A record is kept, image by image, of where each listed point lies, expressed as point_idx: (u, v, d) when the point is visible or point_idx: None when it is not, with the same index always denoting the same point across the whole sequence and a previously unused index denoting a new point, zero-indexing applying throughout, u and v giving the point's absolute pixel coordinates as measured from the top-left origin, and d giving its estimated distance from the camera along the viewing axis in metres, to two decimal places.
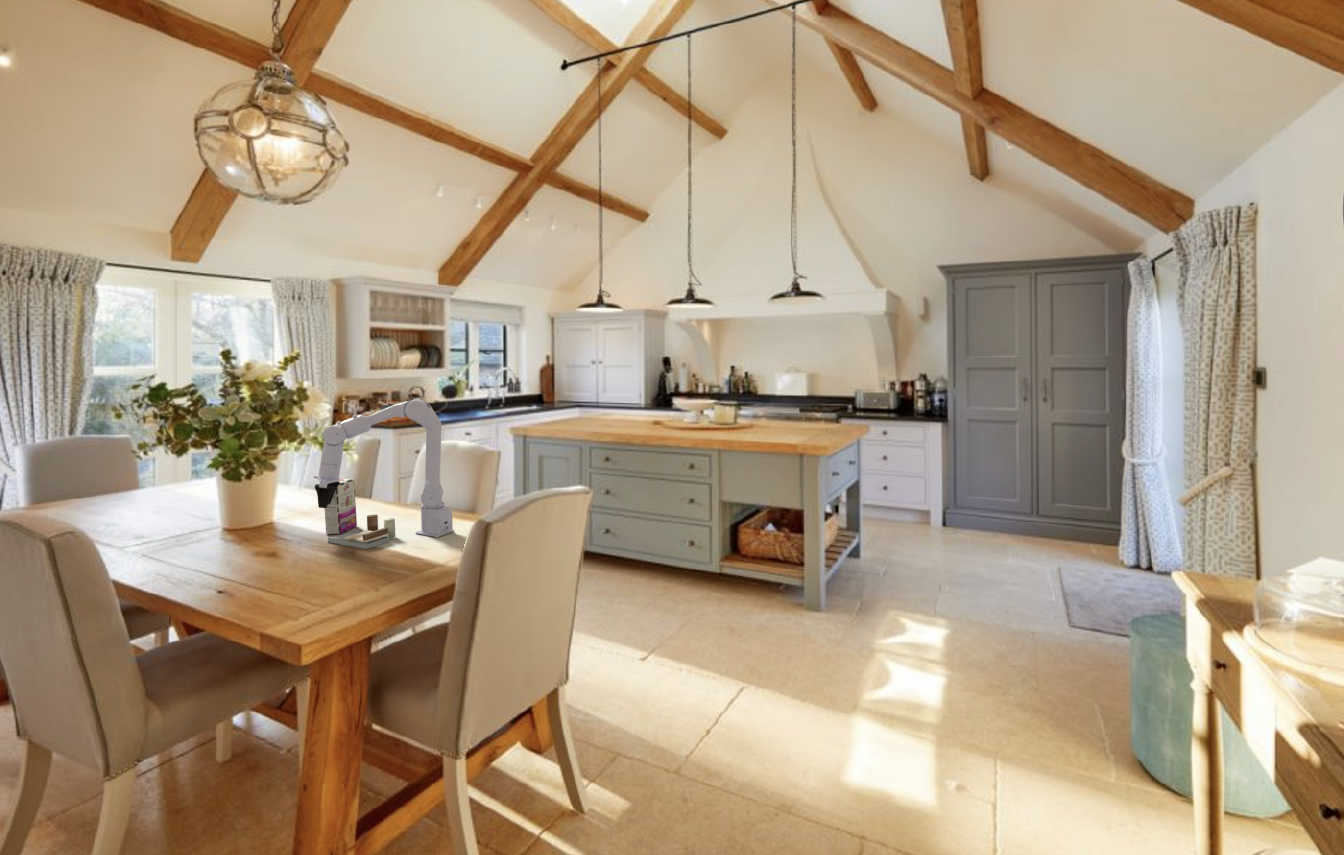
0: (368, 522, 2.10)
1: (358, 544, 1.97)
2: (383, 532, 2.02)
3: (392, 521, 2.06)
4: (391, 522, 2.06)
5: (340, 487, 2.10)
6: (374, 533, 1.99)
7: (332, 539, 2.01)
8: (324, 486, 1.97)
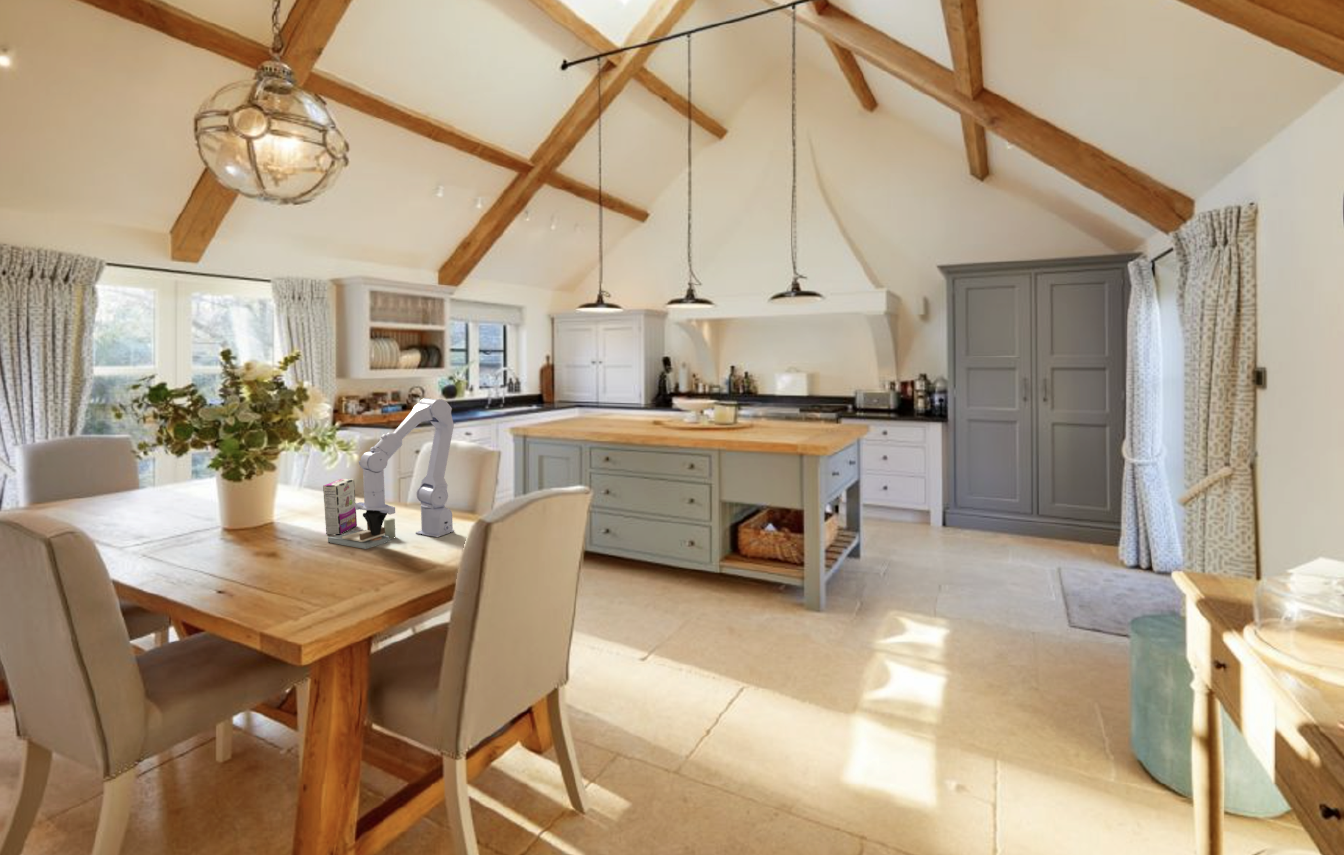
0: None
1: (358, 544, 1.97)
2: (380, 532, 2.02)
3: (392, 521, 2.06)
4: (391, 522, 2.06)
5: (340, 488, 2.10)
6: None
7: (332, 539, 2.01)
8: (394, 512, 1.97)
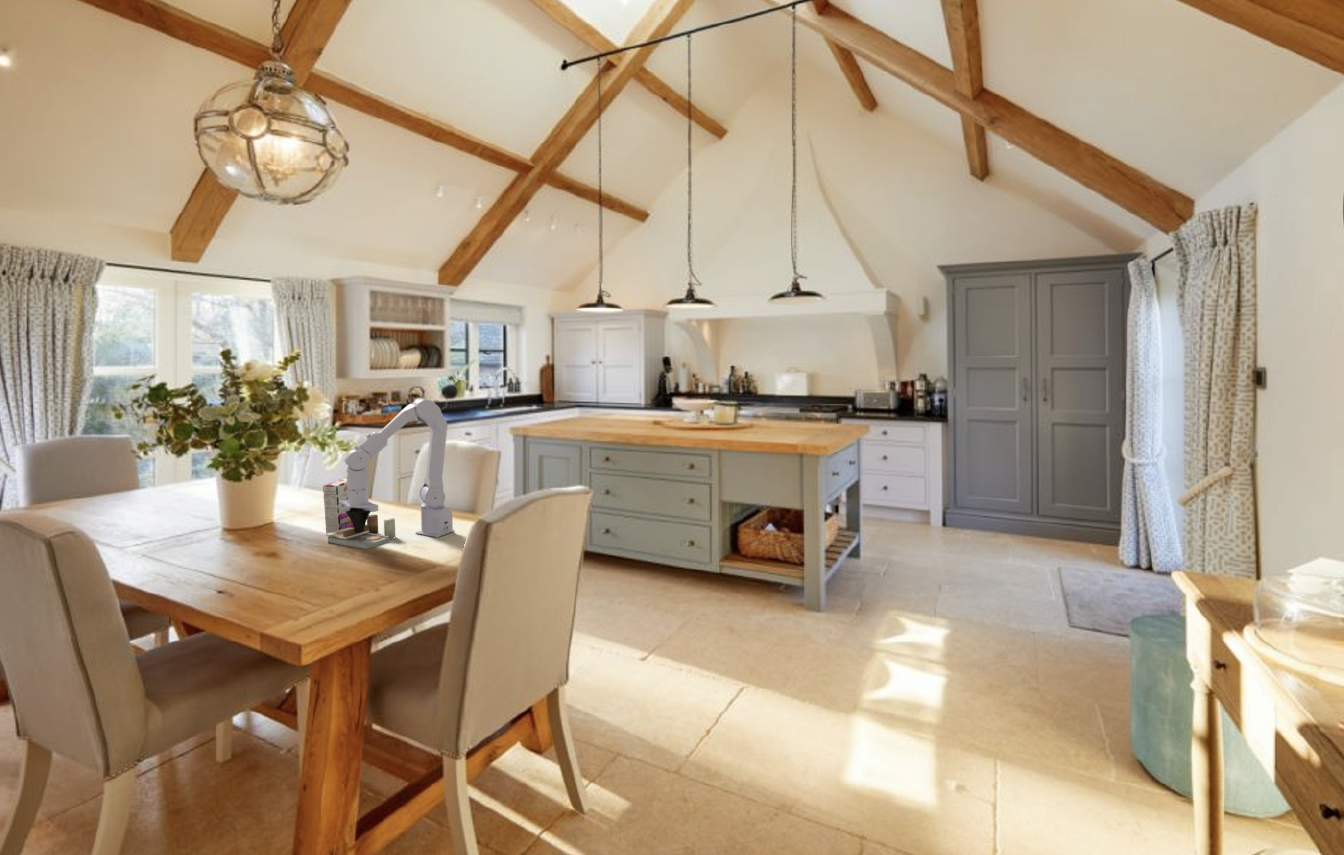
0: (368, 522, 2.10)
1: (358, 544, 1.97)
2: (364, 529, 2.05)
3: (392, 521, 2.06)
4: (391, 522, 2.06)
5: (340, 488, 2.10)
6: None
7: (332, 539, 2.01)
8: (377, 509, 1.99)
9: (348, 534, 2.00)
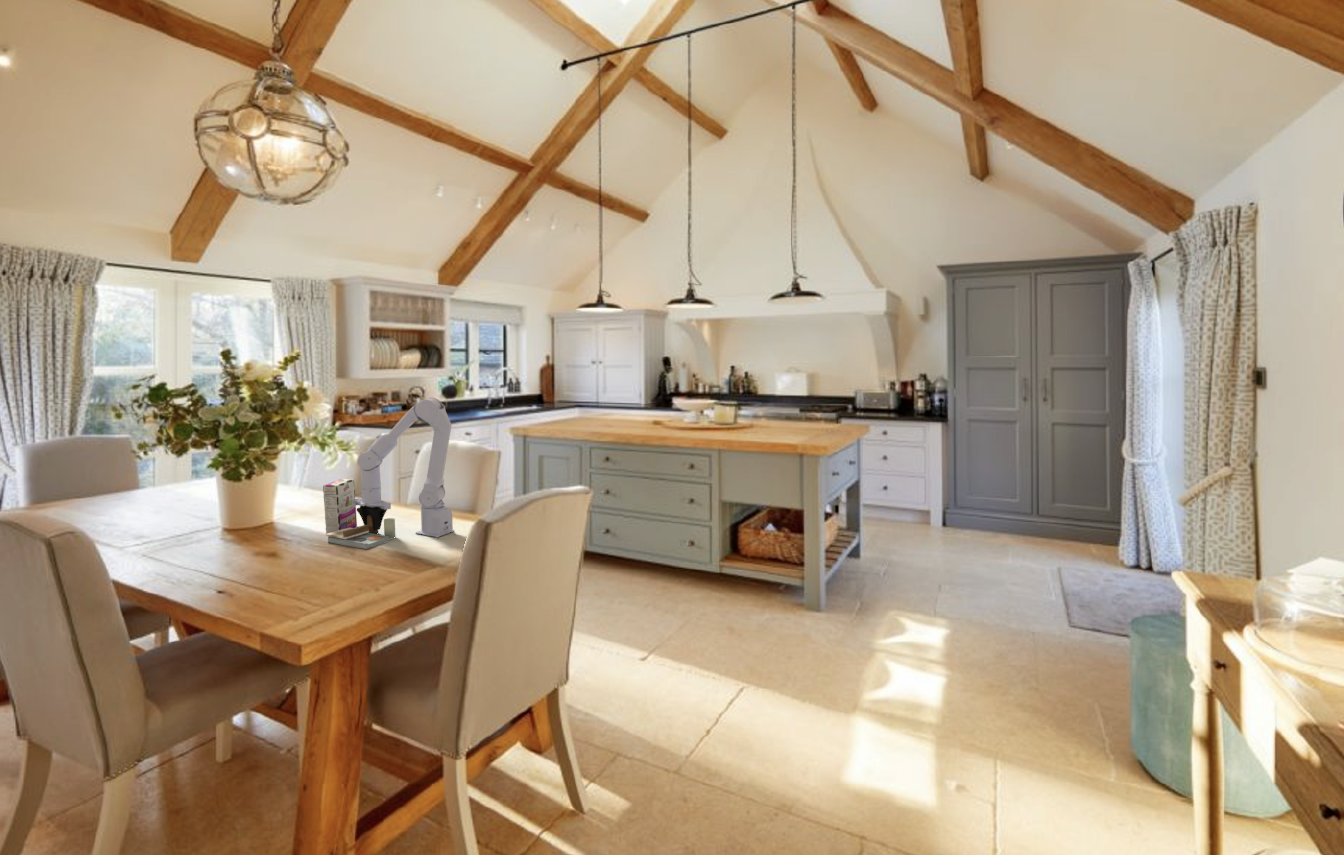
0: (368, 522, 2.10)
1: (358, 544, 1.97)
2: (364, 529, 2.05)
3: (392, 521, 2.06)
4: (391, 522, 2.06)
5: (340, 488, 2.10)
6: (355, 530, 2.02)
7: (332, 539, 2.01)
8: (389, 507, 2.09)
9: (348, 534, 2.00)
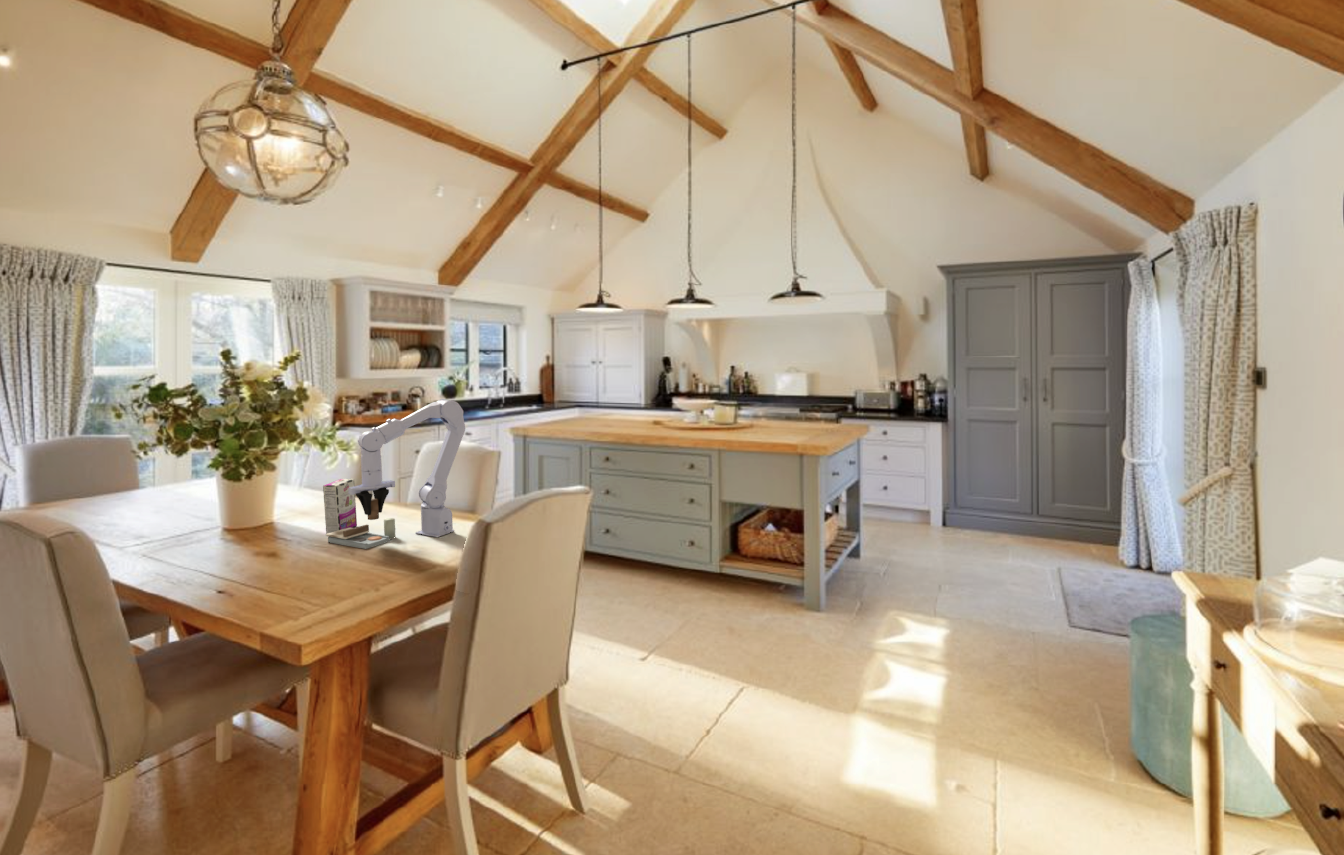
0: (375, 506, 2.02)
1: (358, 544, 1.97)
2: (364, 529, 2.05)
3: (392, 521, 2.06)
4: (391, 522, 2.06)
5: (340, 488, 2.10)
6: (355, 530, 2.02)
7: (332, 539, 2.01)
8: None
9: (348, 534, 2.00)
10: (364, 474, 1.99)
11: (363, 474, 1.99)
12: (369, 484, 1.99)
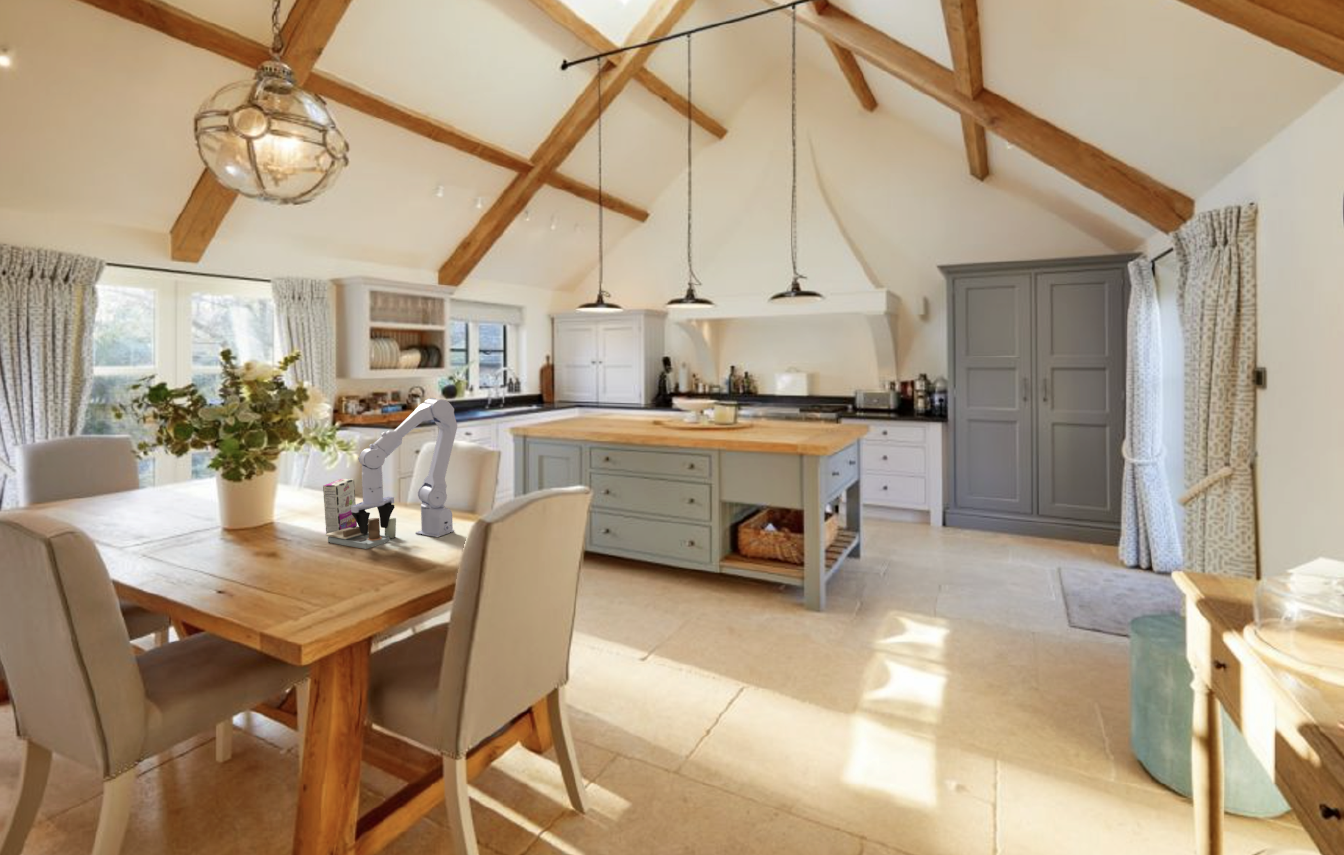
0: (377, 525, 2.01)
1: (358, 544, 1.97)
2: None
3: (393, 520, 2.07)
4: (393, 521, 2.07)
5: (340, 488, 2.10)
6: (355, 530, 2.02)
7: (332, 539, 2.01)
8: None
9: (348, 534, 2.00)
10: (366, 491, 1.98)
11: (365, 492, 1.98)
12: (371, 501, 1.98)
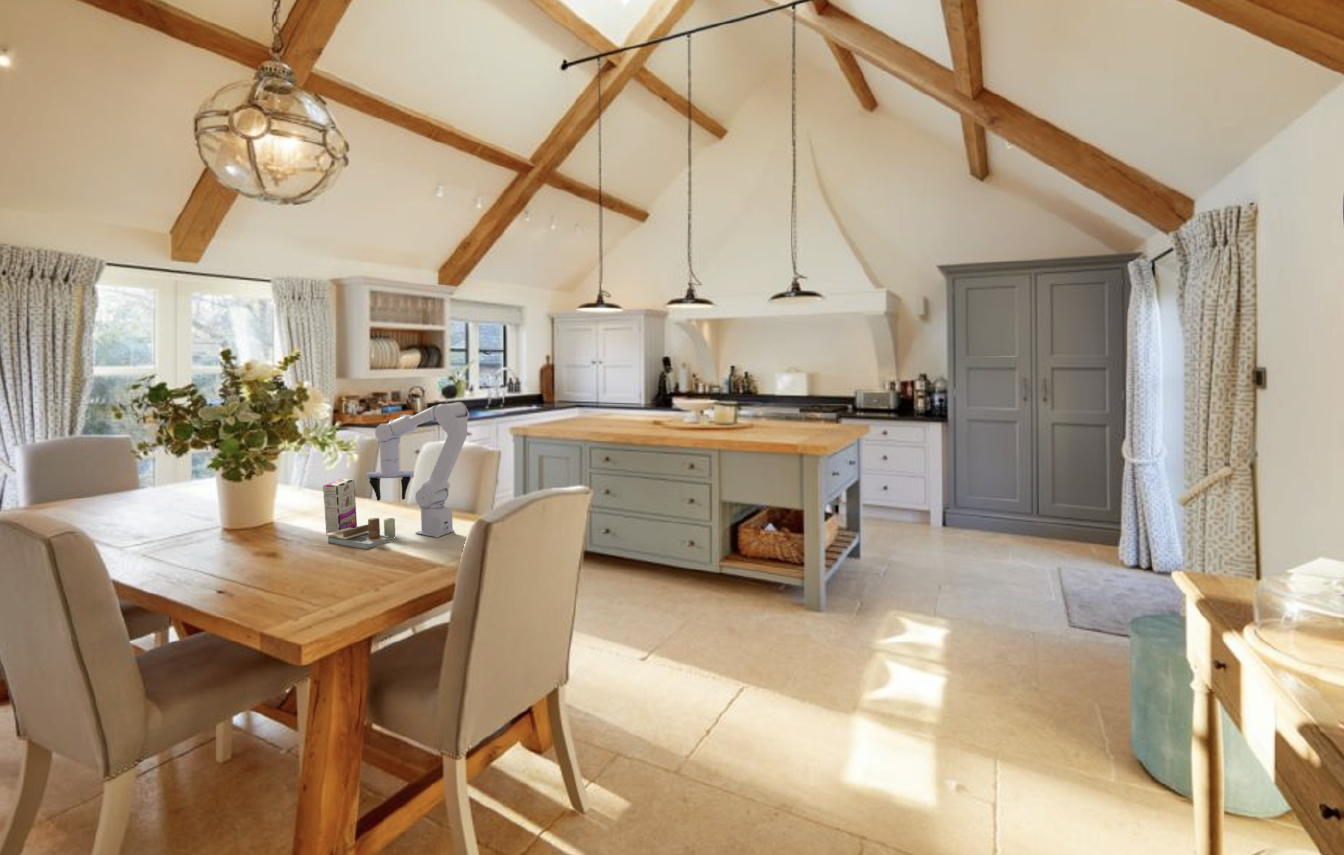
0: (377, 525, 2.01)
1: (358, 544, 1.97)
2: (364, 529, 2.05)
3: (392, 521, 2.06)
4: (391, 522, 2.06)
5: (340, 488, 2.10)
6: (355, 530, 2.02)
7: (332, 539, 2.01)
8: (413, 475, 2.19)
9: (348, 534, 2.00)
10: (380, 462, 2.15)
11: None
12: (382, 472, 2.14)
